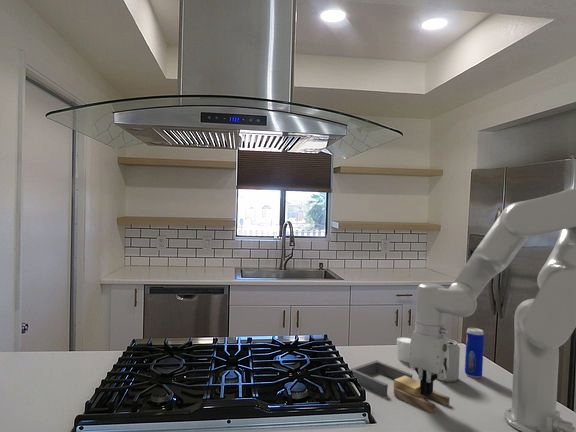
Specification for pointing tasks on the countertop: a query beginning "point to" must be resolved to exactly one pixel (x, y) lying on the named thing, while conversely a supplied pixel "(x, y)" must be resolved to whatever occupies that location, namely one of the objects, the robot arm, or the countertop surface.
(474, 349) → the beverage can
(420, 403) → the chute
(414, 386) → the ochre block
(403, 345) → the white tapered cylinder
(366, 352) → the countertop surface
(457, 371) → the can
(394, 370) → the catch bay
